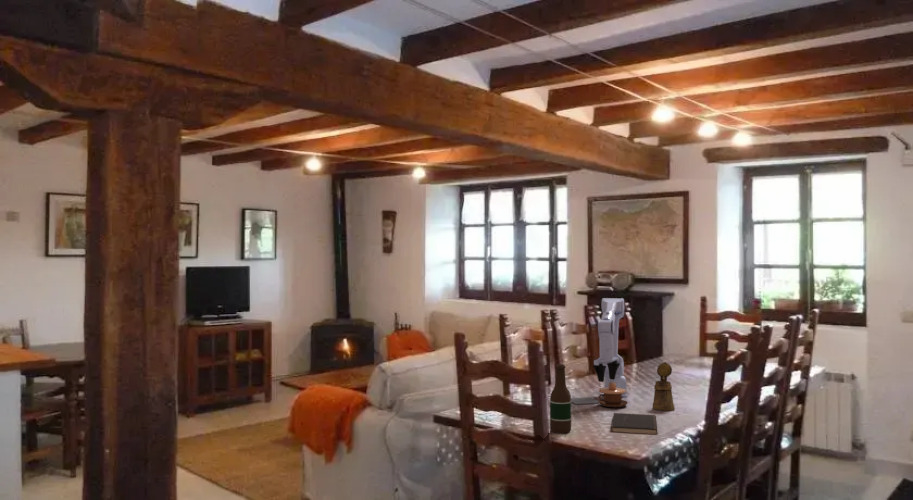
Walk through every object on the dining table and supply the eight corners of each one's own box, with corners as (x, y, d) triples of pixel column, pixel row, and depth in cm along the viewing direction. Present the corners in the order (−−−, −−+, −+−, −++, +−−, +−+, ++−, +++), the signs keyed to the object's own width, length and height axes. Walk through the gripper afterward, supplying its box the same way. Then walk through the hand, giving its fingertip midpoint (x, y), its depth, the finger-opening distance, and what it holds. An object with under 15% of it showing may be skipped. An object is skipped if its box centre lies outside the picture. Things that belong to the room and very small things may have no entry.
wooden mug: (676, 405, 301) (676, 362, 301) (673, 411, 289) (673, 367, 289) (654, 403, 304) (654, 361, 304) (651, 410, 292) (650, 366, 292)
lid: (607, 388, 308) (607, 379, 308) (630, 391, 300) (630, 382, 300) (594, 391, 300) (593, 383, 300) (617, 395, 292) (617, 386, 292)
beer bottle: (547, 428, 262) (547, 363, 262) (568, 428, 262) (568, 363, 263) (552, 434, 254) (552, 366, 254) (573, 433, 255) (573, 366, 255)
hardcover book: (611, 433, 257) (611, 426, 257) (613, 418, 279) (613, 412, 279) (657, 435, 253) (657, 429, 253) (656, 421, 275) (656, 415, 275)
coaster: (589, 397, 317) (589, 396, 317) (601, 403, 305) (601, 402, 305) (564, 399, 314) (564, 398, 314) (575, 405, 302) (575, 404, 302)
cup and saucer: (611, 410, 292) (610, 395, 292) (592, 405, 303) (592, 390, 303) (633, 407, 298) (633, 392, 298) (614, 402, 308) (614, 388, 308)
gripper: (609, 345, 310) (609, 377, 310) (588, 349, 301) (588, 381, 301) (622, 347, 305) (622, 379, 305) (601, 350, 295) (601, 383, 295)
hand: (606, 380), depth 303 cm, fingers open, 7 cm apart
